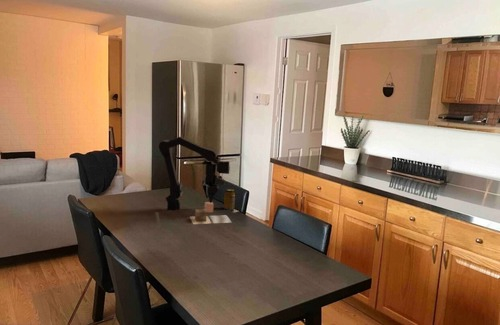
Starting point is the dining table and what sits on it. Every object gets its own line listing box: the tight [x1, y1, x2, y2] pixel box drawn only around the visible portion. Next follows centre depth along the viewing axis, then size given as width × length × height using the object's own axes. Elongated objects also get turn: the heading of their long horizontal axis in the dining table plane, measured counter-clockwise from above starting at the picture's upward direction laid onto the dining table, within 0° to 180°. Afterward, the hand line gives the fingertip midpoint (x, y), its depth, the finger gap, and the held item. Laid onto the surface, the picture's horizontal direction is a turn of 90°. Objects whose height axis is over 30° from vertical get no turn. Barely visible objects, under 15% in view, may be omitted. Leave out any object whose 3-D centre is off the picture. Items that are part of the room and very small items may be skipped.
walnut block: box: [194, 208, 208, 222], centre depth 203 cm, size 5×5×5 cm
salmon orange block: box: [204, 201, 214, 213], centre depth 218 cm, size 4×4×6 cm
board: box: [189, 214, 233, 225], centre depth 205 cm, size 20×12×1 cm, turn 108°
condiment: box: [223, 188, 239, 213], centre depth 225 cm, size 7×8×12 cm
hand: (209, 200), depth 217 cm, fingers open, 9 cm apart
